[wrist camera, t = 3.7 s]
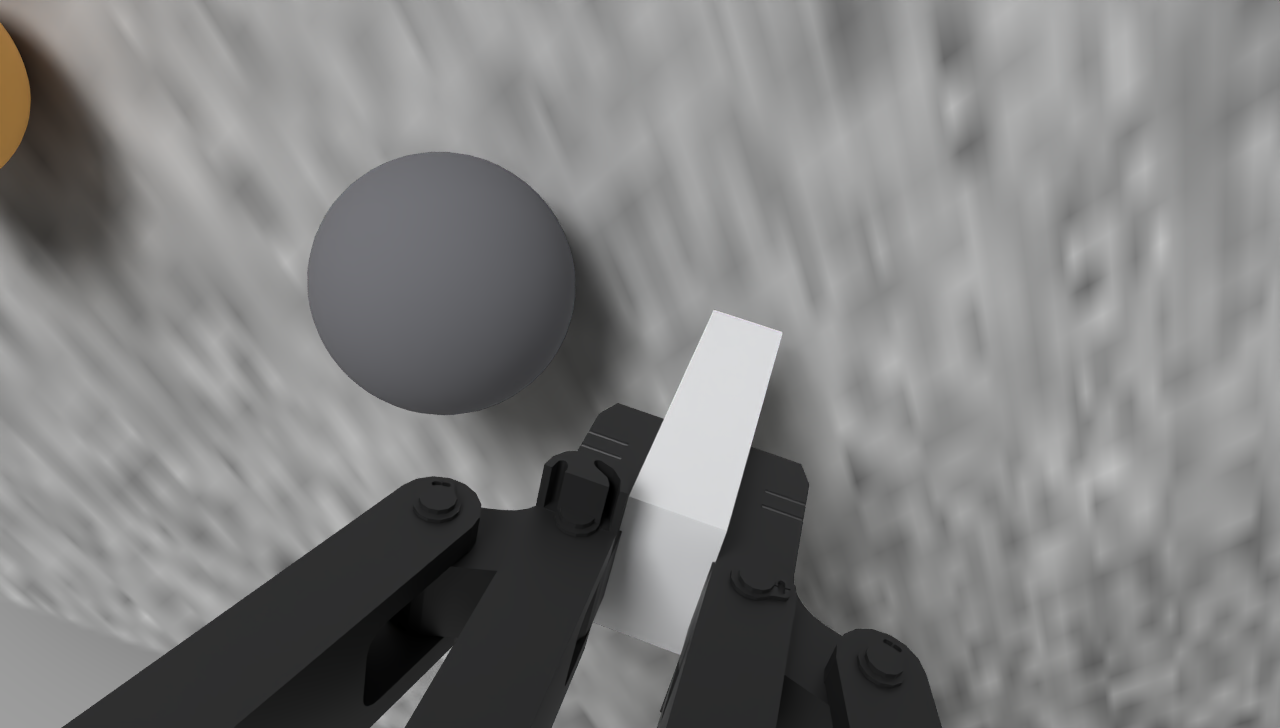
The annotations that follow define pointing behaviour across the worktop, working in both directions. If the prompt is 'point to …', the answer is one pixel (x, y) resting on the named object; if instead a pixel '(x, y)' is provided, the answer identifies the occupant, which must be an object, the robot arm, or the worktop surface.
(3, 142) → the orange ball
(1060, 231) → the worktop surface
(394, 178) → the gray ball
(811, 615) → the robot arm
